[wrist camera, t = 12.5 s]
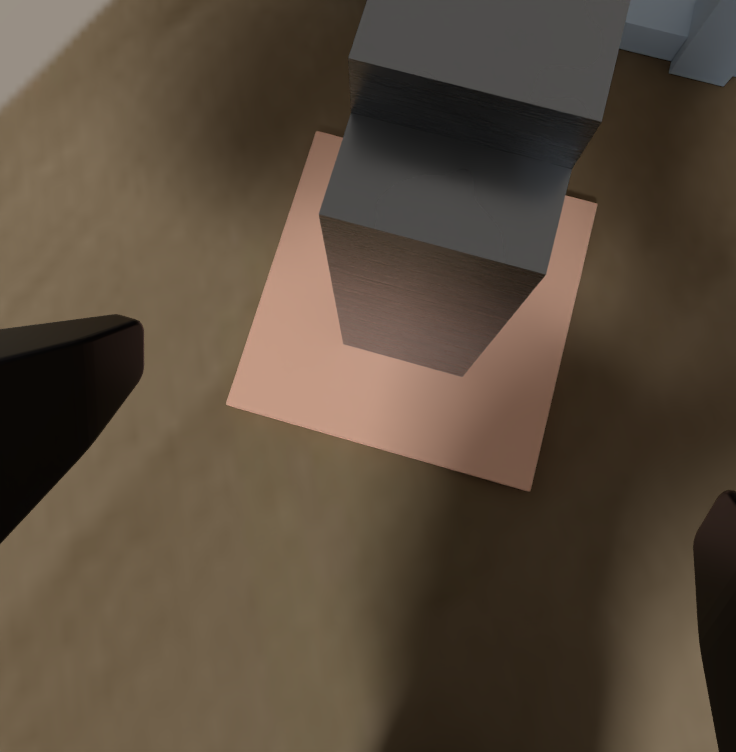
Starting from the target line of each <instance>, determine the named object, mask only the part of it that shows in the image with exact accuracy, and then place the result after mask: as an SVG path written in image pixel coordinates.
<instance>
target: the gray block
mask: <svg viewBox="0 0 736 752" xmlns="http://www.w3.org/2000/svg"><path fill="white" fill-rule="evenodd" d="M630 1H631V0H367V2H366V5H365V8H364V11H363V14H362V18H361V21H360V24H359V27H358V30H357V33H356V36H355V39H354V42H353V45H352V48H351V51H350V54H349V57H348V63H349V82H350V101H351V115H350V118H349V121H348V124H347V127H346V130H345V133H344V136H343V140H342V143H341V146H340V149H339V152H338V155H337V158H336V161H335V164H334V168H333V171H332V174H331V177H330V180H329V183H328V186H327V189H326V193H325V196H324V199H323V202H322V205H321V208H320V211H319V219H320V224H321V229H322V235H323V240H324V245H325V250H326V256H327V261H328V266H329V271H330V277H331V282H332V287H333V293H334V298H335V303H336V308H337V314H338V319H339V324H340V330H341V335H342V340H343V344H345V345H348V346H352V347H355V348H359V349H363V350H366V351H370V352H373V353H377V354H381V355H384V356H388V357H391V358H395V359H399V360H402V361H406V362H409V363H413V364H417V365H420V366H424V367H427V368H431V369H435V370H438V371H442V372H446V373H449V374H453V375H456V376H460V377H463V376H464V374H465V373H466V372H467V371H468V369H469V368H470V367H471V366H472V365H473V363H474V362H475V361H476V360H477V358H478V357H479V356H480V355H481V354H482V352H483V351H484V350H485V349H486V347H487V346H488V345H489V344H490V343H491V341H492V340H493V339H494V338H495V336H496V335H497V334H498V333H499V332H500V330H501V329H502V328H503V327H504V325H505V324H506V323H507V322H508V321H509V319H510V318H511V317H512V316H513V314H514V313H515V312H516V311H517V310H518V308H519V307H520V306H521V305H522V303H523V302H524V301H525V300H526V299H527V297H528V296H529V295H530V294H531V292H532V291H533V290H534V289H535V288H536V286H537V285H538V284H539V283H540V281H541V280H542V279H543V278H544V277H545V275H546V273H547V269H548V265H549V261H550V257H551V252H552V248H553V244H554V240H555V236H556V232H557V228H558V224H559V220H560V216H561V211H562V207H563V203H564V199H565V195H566V191H567V187H568V183H569V179H570V175H571V170H572V168H573V166H574V165H575V163H576V162H577V160H578V159H579V157H580V155H581V154H582V152H583V151H584V149H585V147H586V146H587V144H588V143H589V141H590V139H591V138H592V136H593V135H594V133H595V131H596V130H597V128H598V127H599V125H600V124H601V122H602V118H603V114H604V110H605V106H606V101H607V97H608V93H609V89H610V85H611V80H612V76H613V72H614V68H615V64H616V59H617V55H618V51H619V47H620V43H621V38H622V34H623V30H624V26H625V22H626V17H627V13H628V9H629V5H630Z"/></svg>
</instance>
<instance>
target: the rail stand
mask: <svg viewBox="0 0 736 752" xmlns="http://www.w3.org/2000/svg"><path fill="white" fill-rule="evenodd" d="M619 49H623V50H627V51H631V52H635V53H639V54H643V55H648V56H652V57H656V58H660V59H664V60H668V61H671V65H670V69H669V73H670V74H674V75H678V76H682V77H686V78H690V79H695V80H699V81H703V82H707V83H711V84H715V85H719V86H723V87H724V85H725V84H726V83H727V82H728V81H729V80H730V79H731V77H732V76H733V77H736V0H631V1H630V5H629V9H628V13H627V17H626V22H625V26H624V30H623V34H622V38H621V43H620V47H619Z"/></svg>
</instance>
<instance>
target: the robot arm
mask: <svg viewBox="0 0 736 752" xmlns="http://www.w3.org/2000/svg"><path fill="white" fill-rule="evenodd" d="M143 370H144V328H143V325H142V324H141V323H140V321H138V320H136V319H132V318H129V317H126V316H122V315H117V314H114V315H106V316H98V317H91V318H83V319H75V320H68V321H60V322H53V323H45V324H37V325H30V326H22V327H14V328H7V329H0V544H1V543H2V542H3V540H4V539H5V538H6V537H7V536H8V535H9V534H10V533H11V532H12V531H13V530H14V529H15V528H16V527H17V525H18V524H19V523H20V522H21V521H22V520H23V519H24V518H25V517H26V516H27V515H28V514H29V513H30V512H31V510H32V509H33V508H34V507H35V506H36V505H37V504H38V503H39V502H40V501H41V500H42V499H43V498H44V496H45V495H46V494H47V493H48V492H49V491H50V490H51V489H52V488H53V487H54V486H55V485H56V484H57V483H58V481H59V480H60V479H61V478H62V477H63V476H64V475H65V474H66V473H67V472H68V471H69V470H70V469H71V467H72V466H73V465H74V464H75V463H76V462H77V461H78V460H79V459H80V458H81V457H82V455H83V454H84V453H85V452H86V451H87V450H88V449H89V447H90V446H91V445H92V444H93V442H94V441H95V440H96V439H97V437H98V436H99V435H100V433H101V432H102V431H103V429H104V428H105V427H106V425H107V424H108V423H109V421H110V420H111V419H112V417H113V416H114V415H115V413H116V412H117V411H118V409H119V408H120V406H121V405H122V404H123V402H124V401H125V400H126V398H127V397H128V396H129V394H130V393H131V392H132V390H133V389H134V388H135V386H136V385H137V384H138V382H139V381H140V379H141V377H142V374H143ZM693 552H694V569H695V586H696V602H697V619H698V633H699V643H700V650H701V656H702V662H703V668H704V673H705V678H706V684H707V689H708V695H709V700H710V706H711V711H712V716H713V722H714V727H715V733H716V738H717V744H718V749H719V752H736V491H731V490H727V491H724V492H723V493H721V494H720V495H719V496H718V498H717V499H716V501H715V503H714V504H713V506H712V508H711V509H710V511H709V513H708V514H707V516H706V518H705V519H704V521H703V522H702V524H701V526H700V527H699V529H698V531H697V533H696V536H695V539H694V545H693Z"/></svg>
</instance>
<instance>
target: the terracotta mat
mask: <svg viewBox="0 0 736 752" xmlns="http://www.w3.org/2000/svg"><path fill="white" fill-rule="evenodd" d="M342 140H343V138H342V137H338V136H335V135H331V134H327V133H323V132H319V131H316V133H315V136H314V139H313V142H312V145H311V148H310V151H309V154H308V157H307V160H306V163H305V166H304V169H303V173H302V176H301V179H300V182H299V185H298V188H297V191H296V194H295V197H294V200H293V203H292V206H291V209H290V212H289V215H288V218H287V221H286V224H285V227H284V230H283V233H282V236H281V239H280V242H279V245H278V248H277V251H276V254H275V257H274V260H273V263H272V266H271V269H270V272H269V275H268V278H267V281H266V284H265V287H264V290H263V293H262V296H261V299H260V302H259V306H258V309H257V312H256V315H255V318H254V321H253V324H252V327H251V330H250V333H249V336H248V339H247V342H246V345H245V348H244V351H243V354H242V357H241V360H240V363H239V366H238V369H237V372H236V375H235V378H234V381H233V384H232V387H231V390H230V393H229V396H228V399H227V402H226V404H227V405H228V406H231V407H235V408H238V409H242V410H245V411H249V412H252V413H256V414H259V415H263V416H266V417H270V418H273V419H277V420H280V421H284V422H287V423H291V424H294V425H298V426H301V427H304V428H308V429H311V430H315V431H318V432H322V433H325V434H329V435H332V436H336V437H339V438H343V439H346V440H350V441H353V442H357V443H360V444H364V445H367V446H371V447H374V448H378V449H381V450H385V451H388V452H392V453H395V454H399V455H402V456H405V457H409V458H412V459H416V460H419V461H423V462H426V463H430V464H433V465H437V466H440V467H444V468H447V469H451V470H454V471H458V472H461V473H465V474H468V475H472V476H475V477H479V478H482V479H486V480H489V481H493V482H496V483H500V484H503V485H507V486H510V487H513V488H517V489H520V490H524V491H531V486H532V482H533V478H534V474H535V469H536V465H537V461H538V456H539V452H540V448H541V444H542V439H543V435H544V431H545V427H546V422H547V418H548V414H549V410H550V405H551V401H552V397H553V392H554V388H555V384H556V380H557V375H558V371H559V367H560V363H561V358H562V354H563V350H564V345H565V341H566V337H567V333H568V328H569V324H570V320H571V316H572V311H573V307H574V303H575V299H576V294H577V290H578V286H579V281H580V277H581V273H582V269H583V264H584V260H585V256H586V252H587V247H588V243H589V239H590V234H591V230H592V226H593V222H594V217H595V213H596V209H597V205H598V204H597V203H593V202H589V201H585V200H581V199H578V198H574V197H570V196H566V195H565V199H564V203H563V207H562V211H561V216H560V220H559V224H558V228H557V232H556V236H555V240H554V244H553V248H552V252H551V257H550V261H549V265H548V269H547V273H546V275H545V277H544V278H543V279H542V280H541V281H540V283H539V284H538V285H537V286H536V288H535V289H534V290H533V291H532V292H531V294H530V295H529V296H528V297H527V299H526V300H525V301H524V302H523V303H522V305H521V306H520V307H519V308H518V310H517V311H516V312H515V313H514V314H513V316H512V317H511V318H510V319H509V321H508V322H507V323H506V324H505V325H504V327H503V328H502V329H501V330H500V332H499V333H498V334H497V335H496V336H495V338H494V339H493V340H492V341H491V343H490V344H489V345H488V346H487V347H486V349H485V350H484V351H483V352H482V354H481V355H480V356H479V357H478V358H477V360H476V361H475V362H474V363H473V365H472V366H471V367H470V368H469V369H468V371H467V372H466V373H465V374H464V376H463V377H460V376H456V375H453V374H449V373H446V372H442V371H438V370H435V369H431V368H427V367H424V366H420V365H417V364H413V363H409V362H406V361H402V360H399V359H395V358H391V357H388V356H384V355H381V354H377V353H373V352H370V351H366V350H363V349H359V348H355V347H352V346H348V345H345V344H343V340H342V335H341V330H340V324H339V319H338V314H337V308H336V303H335V298H334V293H333V287H332V282H331V277H330V271H329V266H328V261H327V256H326V250H325V245H324V240H323V235H322V229H321V224H320V219H319V211H320V208H321V205H322V202H323V199H324V196H325V193H326V189H327V186H328V183H329V180H330V177H331V174H332V171H333V168H334V164H335V161H336V158H337V155H338V152H339V149H340V146H341V143H342Z"/></svg>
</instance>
